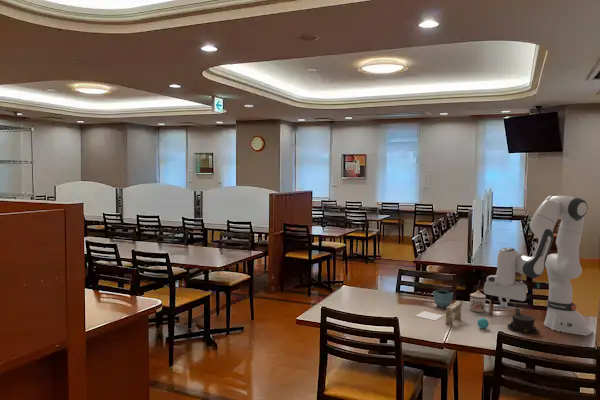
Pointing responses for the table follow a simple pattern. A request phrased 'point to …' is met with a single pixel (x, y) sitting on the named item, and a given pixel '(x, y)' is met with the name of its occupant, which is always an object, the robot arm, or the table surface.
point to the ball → (483, 323)
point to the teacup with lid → (478, 302)
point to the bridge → (450, 312)
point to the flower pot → (442, 298)
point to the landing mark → (429, 315)
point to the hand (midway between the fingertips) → (503, 305)
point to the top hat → (522, 323)
